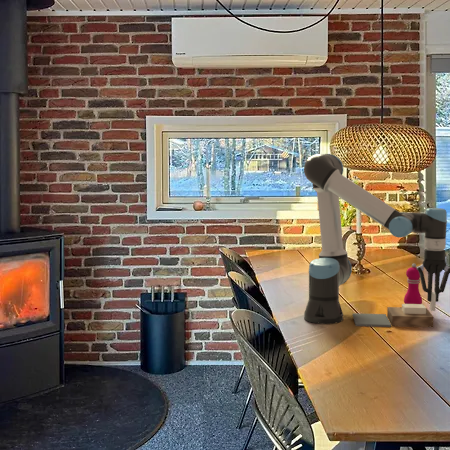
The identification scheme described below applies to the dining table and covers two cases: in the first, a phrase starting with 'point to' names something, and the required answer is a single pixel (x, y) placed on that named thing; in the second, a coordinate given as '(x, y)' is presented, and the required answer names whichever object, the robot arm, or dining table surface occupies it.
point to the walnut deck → (409, 318)
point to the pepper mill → (413, 286)
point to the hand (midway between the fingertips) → (432, 309)
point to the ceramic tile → (413, 309)
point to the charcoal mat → (371, 320)
